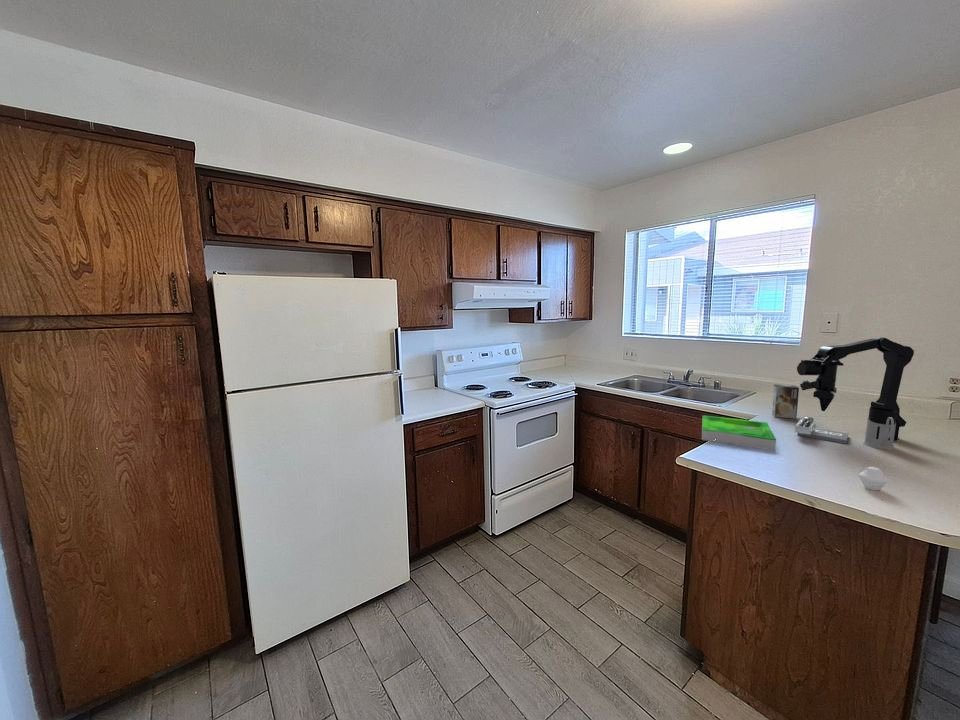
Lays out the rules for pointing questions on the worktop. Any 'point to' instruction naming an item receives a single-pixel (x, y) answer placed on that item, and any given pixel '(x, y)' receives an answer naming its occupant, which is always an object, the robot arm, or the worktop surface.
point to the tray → (738, 432)
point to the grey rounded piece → (880, 428)
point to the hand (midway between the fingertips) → (823, 410)
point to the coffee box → (785, 401)
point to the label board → (827, 435)
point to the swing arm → (805, 425)
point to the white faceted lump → (873, 478)
